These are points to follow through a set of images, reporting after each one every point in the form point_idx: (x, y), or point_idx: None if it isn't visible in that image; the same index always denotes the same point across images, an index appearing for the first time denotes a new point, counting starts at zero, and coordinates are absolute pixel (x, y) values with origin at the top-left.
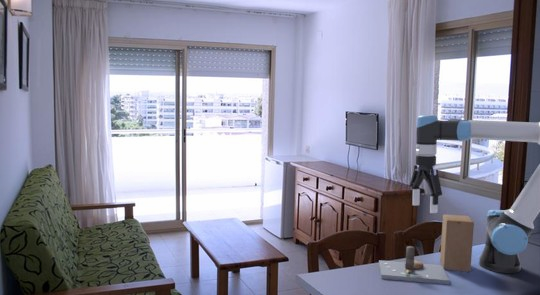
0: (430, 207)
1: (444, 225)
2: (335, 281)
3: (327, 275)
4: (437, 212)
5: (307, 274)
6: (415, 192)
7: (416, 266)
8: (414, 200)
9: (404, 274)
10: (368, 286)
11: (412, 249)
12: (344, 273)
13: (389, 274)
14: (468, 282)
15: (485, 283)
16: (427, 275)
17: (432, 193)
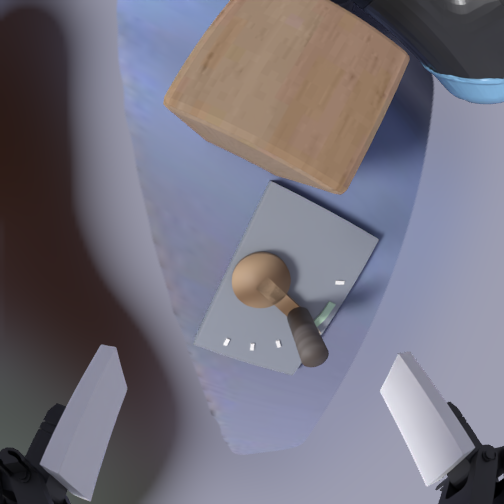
0: (398, 417)
1: (257, 154)
2: (276, 429)
3: (246, 433)
4: (410, 353)
5: (234, 449)
6: (88, 469)
7: (288, 289)
8: (113, 413)
9: None
10: (316, 397)
11: (327, 354)
12: (242, 413)
13: (297, 361)
14: (378, 175)
15: (392, 136)
16: (338, 281)
17: (454, 492)
